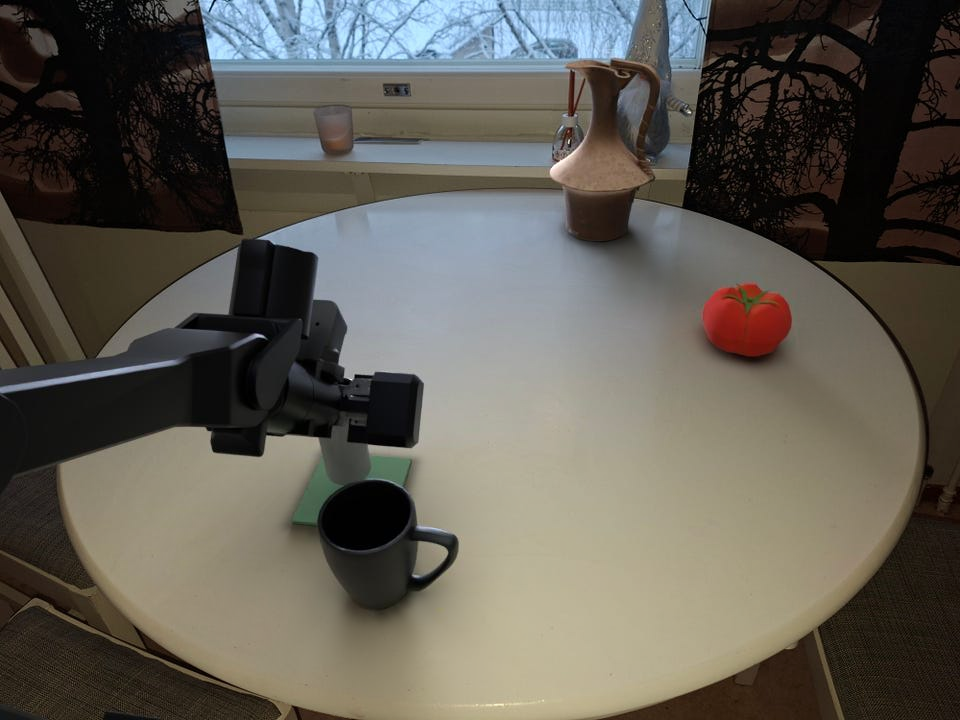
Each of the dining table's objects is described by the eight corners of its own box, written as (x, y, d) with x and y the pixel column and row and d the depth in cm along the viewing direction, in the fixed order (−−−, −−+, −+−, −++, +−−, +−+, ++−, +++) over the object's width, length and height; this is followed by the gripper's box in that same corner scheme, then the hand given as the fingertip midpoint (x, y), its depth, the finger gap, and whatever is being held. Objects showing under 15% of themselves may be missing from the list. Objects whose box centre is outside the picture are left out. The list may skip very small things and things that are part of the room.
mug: (443, 648, 57) (435, 578, 51) (317, 608, 60) (297, 539, 55) (475, 569, 63) (471, 499, 57) (360, 537, 66) (345, 469, 61)
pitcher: (656, 215, 123) (679, 49, 106) (637, 258, 110) (659, 77, 94) (563, 203, 128) (570, 43, 112) (534, 242, 116) (537, 68, 99)
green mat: (388, 533, 67) (388, 530, 66) (292, 523, 68) (291, 520, 68) (411, 460, 75) (411, 458, 74) (325, 453, 76) (324, 450, 76)
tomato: (795, 339, 91) (810, 290, 86) (760, 377, 84) (774, 327, 80) (721, 311, 97) (731, 265, 92) (683, 346, 90) (691, 298, 86)
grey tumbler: (331, 491, 67) (313, 411, 61) (323, 461, 70) (305, 382, 64) (376, 478, 68) (362, 398, 62) (365, 449, 71) (352, 371, 65)
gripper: (408, 297, 51) (445, 337, 66) (178, 285, 54) (265, 326, 69) (393, 445, 49) (434, 451, 65) (156, 425, 52) (250, 436, 67)
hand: (344, 412), depth 66 cm, fingers closed on grey tumbler, 4 cm apart
